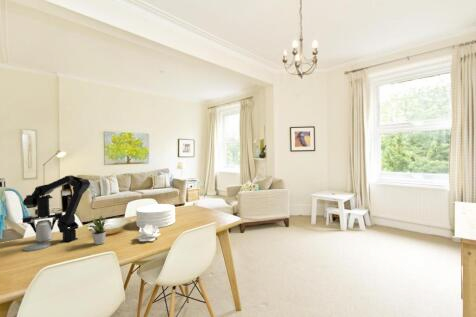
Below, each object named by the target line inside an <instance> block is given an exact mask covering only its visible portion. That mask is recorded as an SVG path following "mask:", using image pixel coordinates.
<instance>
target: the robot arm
mask: <svg viewBox="0 0 476 317" xmlns="http://www.w3.org/2000/svg"><path fill="white" fill-rule="evenodd" d="M67 184H68V185H70V186H71V187H72V191H73V192H72V196H71V198H70V200H69V203H68V205H67V207H66V210H65V213H64V214H63V212H62V211H61V212H54V214H51V212H50V200H51V199H53V196H51V195H50V194H51V193H53V192H54V191H55V190H56V189H58V188H60V187H62V186H64V185H67ZM90 185H91V182H90V180H89V179H87V178H82V177H77V176H75V175H72V174H70V175H65V176H64V177H61V178H60V179H59V178H58V179H57V180H55V181H52V182H51V183H47V184H43V185H39V186H36V187H34V191H33V192H32V193H31V194H27V195H26V197H25V198H24V199H23V200H22V204H23V206H25V207H36V209H35V210H34V214H35V216H33V215H29V216H27V215H26V216H24V217H23V218H22V223H23V224H27V225H30V226H31V228H32V229H33V231H34V233H35V234H36V223H35V221H40V220H47V219H51V218H52V221H51V225H52V228H51V229H52V231H53V229H54V227H55V224H56V223H57V227H58V231H59V233H61V234H62V240H60V243H71V242H74V241H77V240H79V238H78V237H77V233H76V232H77V229H78V228H79V226H80V225H79V224H78V223H77V221H76V217H75V216H76V215H75V214H76V212H77V209H78V207H79V205H80V202H81V200H82V197H83V195H84V193H86V191H87V190H88V189H89V187H90Z"/></svg>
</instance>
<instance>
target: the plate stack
mask: <svg viewBox="0 0 476 317" xmlns="http://www.w3.org/2000/svg"><path fill="white" fill-rule="evenodd" d="M135 211H136V213H135V215H136V216H135V218H136V226H137V227H138V228H139V229H140V228H143V229H144V227H145V225H146V224H149V225H152V226H153V228H155V227H157V226H158V229H160V228H163V227H164V228H165V227H168V226H170V225H173V224H174V223H176V206H175V205H174V204H169V203H165V204H164V203H159V204H149V205H144V206H140V207H138V208H136V210H135Z"/></svg>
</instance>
